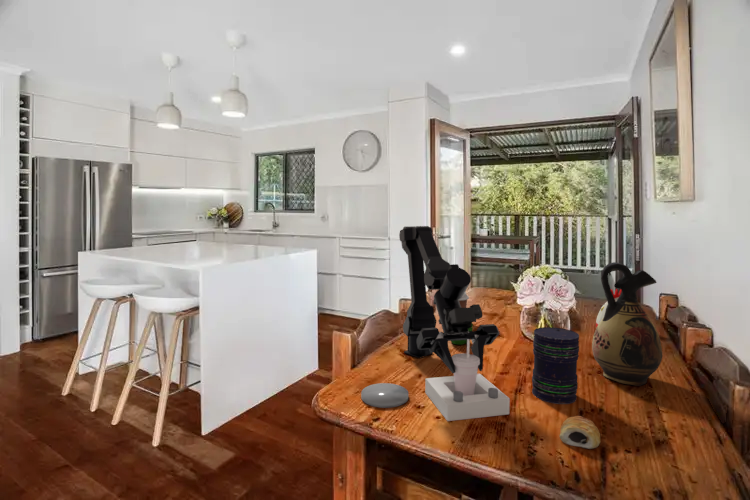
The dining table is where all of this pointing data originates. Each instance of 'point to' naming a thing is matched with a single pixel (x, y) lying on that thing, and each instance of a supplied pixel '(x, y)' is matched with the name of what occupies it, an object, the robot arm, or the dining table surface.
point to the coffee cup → (463, 300)
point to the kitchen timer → (603, 309)
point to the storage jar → (555, 365)
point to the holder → (466, 399)
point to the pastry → (580, 432)
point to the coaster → (384, 395)
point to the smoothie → (465, 371)
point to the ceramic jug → (626, 331)
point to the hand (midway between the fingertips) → (467, 371)
